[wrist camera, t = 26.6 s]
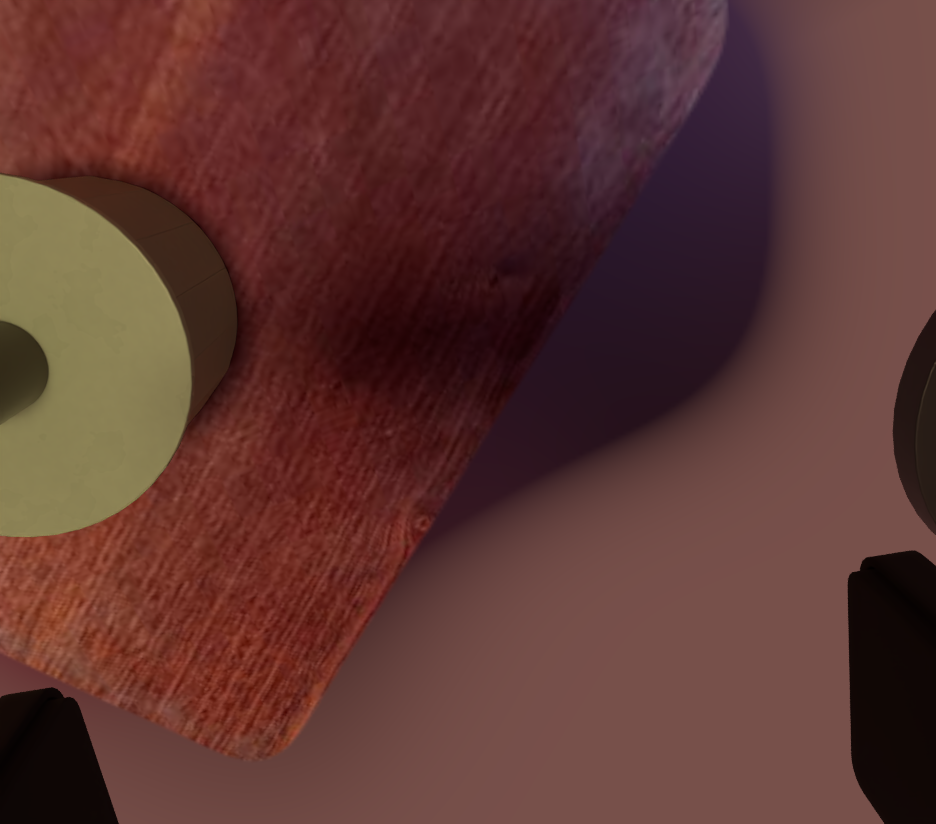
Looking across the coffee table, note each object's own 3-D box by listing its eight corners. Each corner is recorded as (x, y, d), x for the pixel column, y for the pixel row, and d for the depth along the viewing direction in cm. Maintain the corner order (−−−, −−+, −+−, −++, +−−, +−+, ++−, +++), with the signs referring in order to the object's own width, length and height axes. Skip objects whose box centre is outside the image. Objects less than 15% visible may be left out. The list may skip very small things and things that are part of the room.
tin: (203, 158, 35) (131, 162, 27) (262, 413, 38) (216, 491, 30) (-65, 200, 35) (-224, 218, 27) (17, 452, 38) (-100, 541, 30)
